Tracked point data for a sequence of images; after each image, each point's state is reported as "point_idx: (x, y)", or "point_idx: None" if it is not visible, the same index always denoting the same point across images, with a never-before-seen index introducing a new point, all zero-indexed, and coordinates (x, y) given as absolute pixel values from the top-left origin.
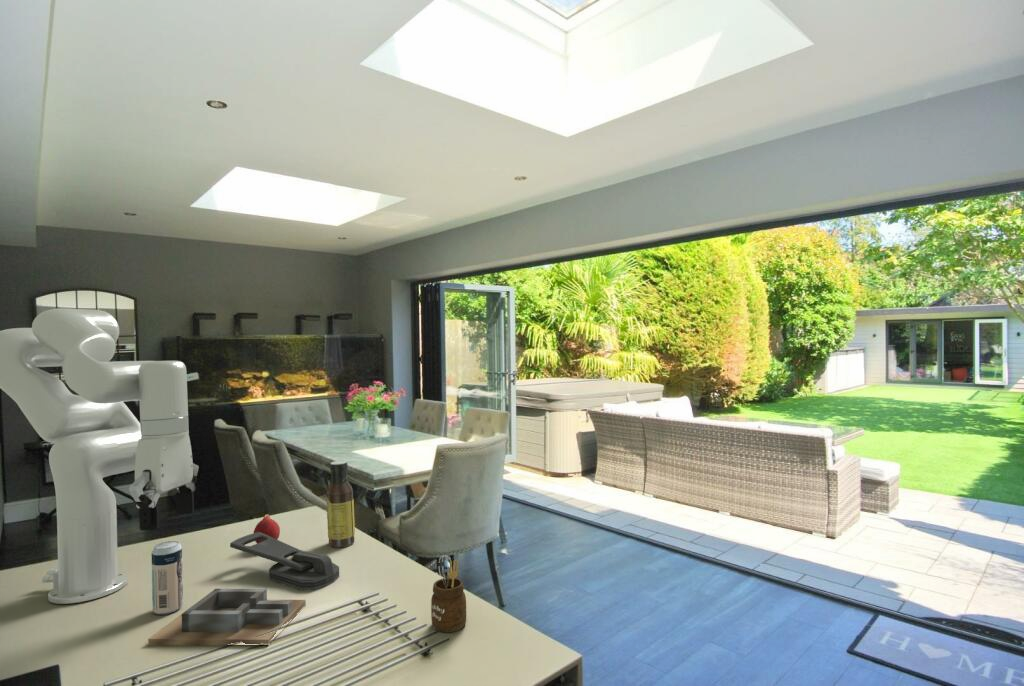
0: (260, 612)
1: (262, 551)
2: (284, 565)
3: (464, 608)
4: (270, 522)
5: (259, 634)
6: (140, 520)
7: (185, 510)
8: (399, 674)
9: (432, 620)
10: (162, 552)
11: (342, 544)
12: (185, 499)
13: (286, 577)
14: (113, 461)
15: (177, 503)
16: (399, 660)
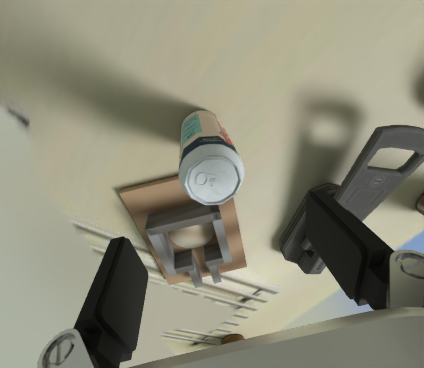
0: (190, 275)
1: (344, 196)
2: None
3: None
4: None
5: (173, 275)
6: (102, 267)
7: (311, 227)
8: (170, 343)
9: (225, 343)
10: (186, 192)
11: (419, 210)
12: (336, 262)
13: (296, 226)
14: None
15: (329, 222)
16: (183, 338)
